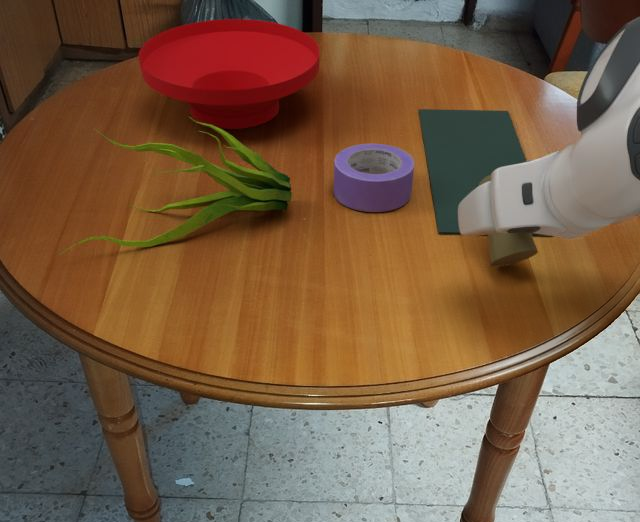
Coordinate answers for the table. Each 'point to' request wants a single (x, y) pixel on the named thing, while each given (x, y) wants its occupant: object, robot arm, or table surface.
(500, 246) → the olive pawn piece
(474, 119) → the mat
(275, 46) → the bowl
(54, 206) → the table surface
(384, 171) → the tape roll
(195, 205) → the decorative plant
